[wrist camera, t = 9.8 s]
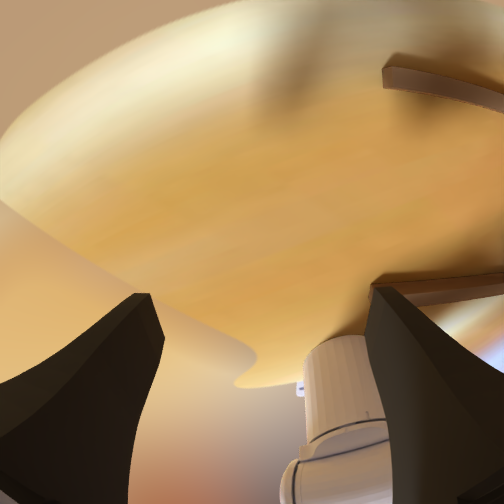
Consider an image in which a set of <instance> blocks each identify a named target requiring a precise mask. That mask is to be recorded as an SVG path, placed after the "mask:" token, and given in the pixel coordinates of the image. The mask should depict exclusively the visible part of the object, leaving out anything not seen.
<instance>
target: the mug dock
mask: <svg viewBox="0 0 504 504" xmlns="http://www.w3.org/2000/svg"><path fill="white" fill-rule="evenodd" d="M382 76H383V88H386V89H394V90H402V91H408V92H415V93H421V94H427V95H432V96H437V97H442V98H447V99H452V100H456V101H460V102H464V103H468V104H472V105H476V106H480V107H483V108H487V109H490V110H494V111H497V112H500V113H503V114H504V94H501V93H498V92H496V91H493V90H490V89H487V88H484V87H481V86H478V85H474V84H471V83H468V82H464V81H461V80H457V79H453V78H449V77H445V76H441V75H437V74H432V73H428V72H423V71H418V70H412V69H407V68H401V67H394V66H390V67H387V68H383V69H382ZM386 286H392V287H393V288H395V289H396V290H397V291H398V292H399V293H401V294H402V295H403V296H404V297H405V298H406V299H408V300H409V301H410V302H411V303H412V304H413V305H414V306H416V307H419V306H428V305H436V304H444V303H451V302H458V301H465V300H472V299H478V298H485V297H491V296H496V295H502V294H504V272H503V273H495V274H486V275H477V276H467V277H457V278H446V279H435V280H423V281H411V282H398V283H384V284H371V286H370V292H369V297H368V298H369V301H370V303H371V301H372V296H373V290H374V287H386Z"/></svg>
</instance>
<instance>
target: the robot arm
mask: <svg viewBox="0 0 504 504" xmlns="http://www.w3.org/2000/svg"><path fill="white" fill-rule="evenodd" d="M164 341H165V336H164V334H163V331H162V328H161V325H160V322H159V320H158V317H157V314H156V311H155V308H154V305H153V302H152V298H151V295H150V293H134V294H132V295H131V296H129V297H128V298H126V299H125V300H124V301H122V302H121V303H120V304H119V305H117V306H116V307H115V308H114V309H112V310H111V311H110V312H109V313H108V314H106V315H105V316H104V317H102V318H101V319H100V320H99V321H98V322H96V323H95V324H94V325H93V326H91V327H90V328H89V329H88V330H86V331H85V332H84V333H82V334H81V335H80V336H78V337H77V338H76V339H75V340H73V341H72V342H71V343H69V344H68V345H67V346H65V347H64V348H63V349H61V350H60V351H58V352H57V353H55V354H54V355H52V356H51V357H49V358H48V359H46V360H45V361H43V362H41V363H40V364H38V365H37V366H34V367H33V368H31V369H29V370H27V371H26V372H23V373H22V374H20V375H18V376H16V377H14V378H12V379H10V380H8V381H6V382H3V383H1V384H0V504H128V485H129V473H130V465H131V458H132V452H133V445H134V440H135V435H136V431H137V426H138V423H139V419H140V416H141V413H142V410H143V407H144V405H145V402H146V399H147V396H148V393H149V391H150V388H151V385H152V383H153V380H154V377H155V374H156V371H157V369H158V366H159V363H160V359H161V355H162V350H163V345H164ZM303 377H304V381H300V382H297V385H296V386H297V387H296V395H297V396H299V397H302V396H303V397H304V396H305V409H306V427H307V445H304V446H300V447H299V459H295V460H293V461H291V462H290V464H289V465H288V467H287V469H286V470H285V472H284V474H283V476H282V479H281V484H280V503H281V504H504V373H502V372H500V371H499V370H497V369H495V368H494V367H492V366H490V365H489V364H487V363H486V362H484V361H483V360H481V359H480V358H478V357H477V356H476V355H474V354H473V353H471V352H470V351H468V350H467V349H466V348H464V347H463V346H462V345H460V344H459V343H458V342H457V341H455V340H454V339H453V338H452V337H450V336H449V335H448V334H447V333H446V332H444V331H443V330H442V329H441V328H440V327H438V326H437V325H436V324H435V323H434V322H433V321H431V320H430V319H429V318H428V317H427V316H426V315H425V314H423V313H422V312H421V311H420V310H419V309H418V308H417V307H416V306H414V305H413V304H412V303H411V302H410V301H409V300H408V299H406V298H405V297H404V296H403V295H402V294H401V293H399V292H398V291H397V290H396V289H395V288H393V287H392V286H386V287H374V290H373V296H372V301H371V306H370V311H369V316H368V320H367V325H366V329H365V334H364V336H361V335H346V336H340V337H336V338H332V339H330V340H328V341H325V342H323V343H322V344H320V345H318V346H317V347H315V348H314V349H313V350H312V351H311V352H310V353H309V354H308V355H307V357H306V358H305V360H304V363H303Z"/></svg>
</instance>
